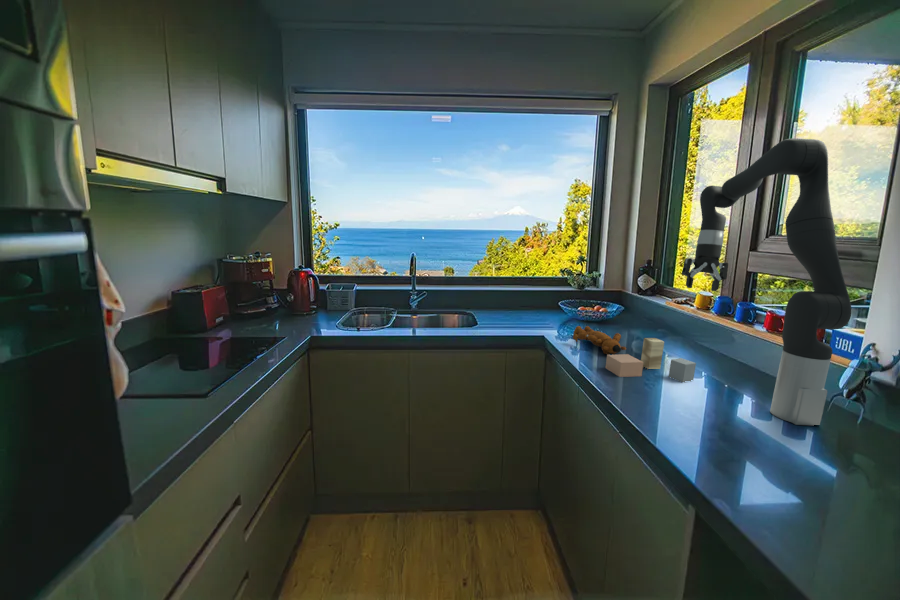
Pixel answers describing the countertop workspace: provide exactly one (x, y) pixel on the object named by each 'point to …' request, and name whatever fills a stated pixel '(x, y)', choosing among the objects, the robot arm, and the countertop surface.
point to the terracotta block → (624, 365)
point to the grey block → (682, 370)
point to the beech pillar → (652, 353)
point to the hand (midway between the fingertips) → (701, 289)
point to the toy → (599, 339)
